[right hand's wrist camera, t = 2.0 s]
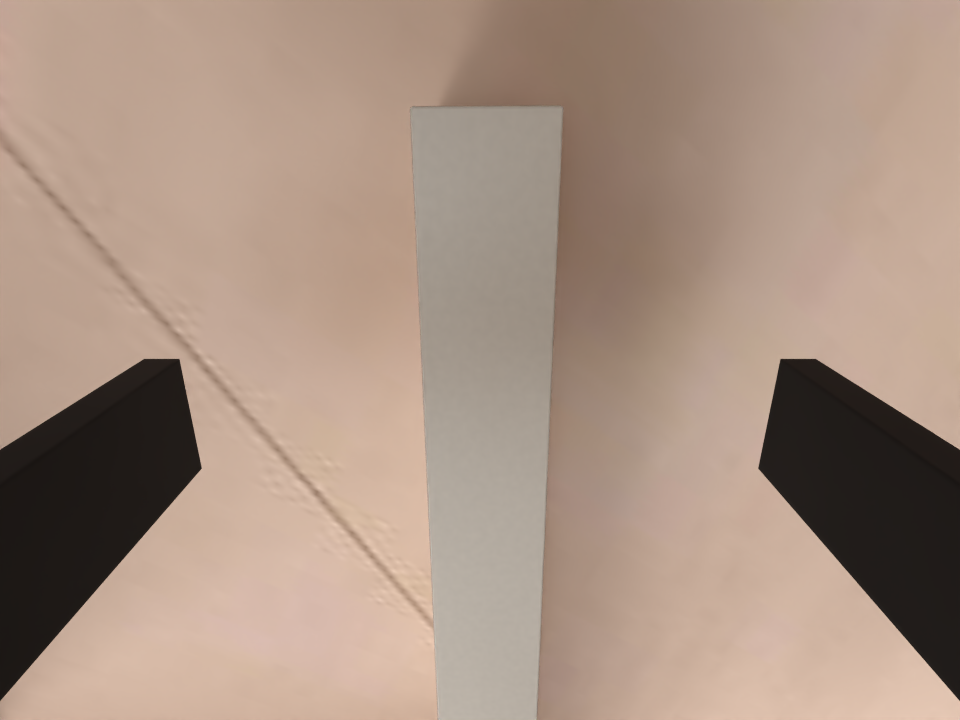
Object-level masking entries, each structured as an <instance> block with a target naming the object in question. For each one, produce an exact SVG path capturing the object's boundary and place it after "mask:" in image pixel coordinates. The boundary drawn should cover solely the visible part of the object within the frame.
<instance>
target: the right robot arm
mask: <svg viewBox="0 0 960 720" xmlns="http://www.w3.org/2000/svg"><path fill="white" fill-rule="evenodd" d="M201 469H202V468H201V463H200V458H199V453H198V448H197V443H196V438H195V433H194V428H193V424H192V419H191V414H190V409H189V404H188V399H187V394H186V389H185V384H184V379H183V375H182V370H181V365H180V360H179V359H144V360H142V361H140V362H139V363H137V364H136V365H134V366H132V367H131V368H129V369H128V370H126V371H124V372H123V373H121V374H120V375H118V376H117V377H115V378H113V379H112V380H110V381H109V382H107V383H105V384H104V385H102V386H101V387H99V388H98V389H96V390H94V391H93V392H91V393H90V394H88V395H86V396H85V397H83V398H82V399H80V400H78V401H77V402H75V403H74V404H72V405H71V406H69V407H67V408H66V409H64V410H63V411H61V412H59V413H58V414H56V415H55V416H53V417H52V418H50V419H48V420H47V421H45V422H44V423H42V424H40V425H39V426H37V427H36V428H34V429H32V430H31V431H29V432H28V433H26V434H25V435H23V436H21V437H20V438H18V439H17V440H15V441H13V442H12V443H10V444H9V445H7V446H6V447H4V448H2V449H1V450H0V700H1V699H2V698H3V697H4V696H5V695H6V694H7V692H8V691H9V690H10V689H11V688H12V687H13V685H14V684H15V683H16V682H17V681H18V680H19V679H20V677H21V676H22V675H23V674H24V673H25V672H26V670H27V669H28V668H29V667H30V666H31V665H32V664H33V662H34V661H35V660H36V659H37V658H38V657H39V655H40V654H41V653H42V652H43V651H44V650H45V649H46V647H47V646H48V645H49V644H50V643H51V642H52V640H53V639H54V638H55V637H56V636H57V635H58V634H59V632H60V631H61V630H62V629H63V628H64V627H65V625H66V624H67V623H68V622H69V621H70V620H71V619H72V617H73V616H74V615H75V614H76V613H77V612H78V610H79V609H80V608H81V607H82V606H83V605H84V604H85V602H86V601H87V600H88V599H89V598H90V597H91V595H92V594H93V593H94V592H95V591H96V590H97V589H98V587H99V586H100V585H101V584H102V583H103V582H104V581H105V579H106V578H107V577H108V576H109V575H110V574H111V572H112V571H113V570H114V569H115V568H116V567H117V566H118V564H119V563H120V562H121V561H122V560H123V559H124V557H125V556H126V555H127V554H128V553H129V552H130V551H131V549H132V548H133V547H134V546H135V545H136V544H137V542H138V541H139V540H140V539H141V538H142V537H143V536H144V534H145V533H146V532H147V531H148V530H149V529H150V527H151V526H152V525H153V524H154V523H155V522H156V521H157V519H158V518H159V517H160V516H161V515H162V514H163V512H164V511H165V510H166V509H167V508H168V507H169V506H170V504H171V503H172V502H173V501H174V500H175V499H176V497H177V496H178V495H179V494H180V493H181V492H182V491H183V489H184V488H185V487H186V486H187V485H188V484H189V482H190V481H191V480H192V479H193V478H194V477H195V476H196V474H197V473H198V472H199V471H200V470H201ZM758 469H759V470H760V471H761V472H762V473H763V474H764V476H765V477H766V478H767V479H768V480H769V481H770V482H771V484H772V485H773V486H774V487H775V488H776V489H777V491H778V492H779V493H780V494H781V495H782V496H783V497H784V499H785V500H786V501H787V502H788V503H789V504H790V506H791V507H792V508H793V509H794V510H795V511H796V512H797V514H798V515H799V516H800V517H801V518H802V519H803V521H804V522H805V523H806V524H807V525H808V526H809V527H810V529H811V530H812V531H813V532H814V533H815V534H816V536H817V537H818V538H819V539H820V540H821V541H822V542H823V544H824V545H825V546H826V547H827V548H828V549H829V551H830V552H831V553H832V554H833V555H834V556H835V557H836V559H837V560H838V561H839V562H840V563H841V564H842V566H843V567H844V568H845V569H846V570H847V571H848V572H849V574H850V575H851V576H852V577H853V578H854V579H855V581H856V582H857V583H858V584H859V585H860V586H861V587H862V589H863V590H864V591H865V592H866V593H867V594H868V595H869V597H870V598H871V599H872V600H873V601H874V602H875V604H876V605H877V606H878V607H879V608H880V609H881V610H882V612H883V613H884V614H885V615H886V616H887V617H888V619H889V620H890V621H891V622H892V623H893V624H894V625H895V627H896V628H897V629H898V630H899V631H900V632H901V634H902V635H903V636H904V637H905V638H906V639H907V640H908V642H909V643H910V644H911V645H912V646H913V647H914V649H915V650H916V651H917V652H918V653H919V654H920V655H921V657H922V658H923V659H924V660H925V661H926V662H927V664H928V665H929V666H930V667H931V668H932V669H933V670H934V672H935V673H936V674H937V675H938V676H939V677H940V679H941V680H942V681H943V682H944V683H945V684H946V685H947V687H948V688H949V689H950V690H951V691H952V692H953V694H954V695H955V696H956V697H957V698H958V699H959V700H960V450H959V449H958V448H956V447H954V446H953V445H951V444H950V443H948V442H947V441H945V440H943V439H942V438H940V437H939V436H937V435H935V434H934V433H932V432H931V431H929V430H928V429H926V428H924V427H923V426H921V425H920V424H918V423H916V422H915V421H913V420H912V419H910V418H908V417H907V416H905V415H904V414H902V413H901V412H899V411H897V410H896V409H894V408H893V407H891V406H889V405H888V404H886V403H885V402H883V401H882V400H880V399H878V398H877V397H875V396H874V395H872V394H870V393H869V392H867V391H866V390H864V389H862V388H861V387H859V386H858V385H856V384H855V383H853V382H851V381H850V380H848V379H847V378H845V377H843V376H842V375H840V374H839V373H837V372H836V371H834V370H832V369H831V368H829V367H828V366H826V365H824V364H823V363H821V362H820V361H818V360H816V359H781V360H780V365H779V370H778V375H777V379H776V384H775V389H774V394H773V399H772V404H771V409H770V414H769V419H768V424H767V428H766V433H765V438H764V443H763V448H762V453H761V458H760V463H759V468H758Z"/></svg>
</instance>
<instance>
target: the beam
mask: <svg viewBox="0 0 960 720" xmlns="http://www.w3.org/2000/svg"><path fill="white" fill-rule="evenodd" d="M410 121H411V143H412V165H413V187H414V209H415V231H416V252H417V274H418V296H419V318H420V340H421V361H422V383H423V405H424V427H425V449H426V470H427V492H428V514H429V536H430V558H431V580H432V601H433V623H434V645H435V667H436V689H437V710H438V720H537V709H538V686H539V663H540V640H541V617H542V594H543V571H544V548H545V525H546V501H547V478H548V455H549V432H550V409H551V386H552V363H553V340H554V317H555V293H556V270H557V247H558V224H559V201H560V178H561V155H562V132H563V106H561V105H550V106H412V107H411V108H410Z"/></svg>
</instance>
